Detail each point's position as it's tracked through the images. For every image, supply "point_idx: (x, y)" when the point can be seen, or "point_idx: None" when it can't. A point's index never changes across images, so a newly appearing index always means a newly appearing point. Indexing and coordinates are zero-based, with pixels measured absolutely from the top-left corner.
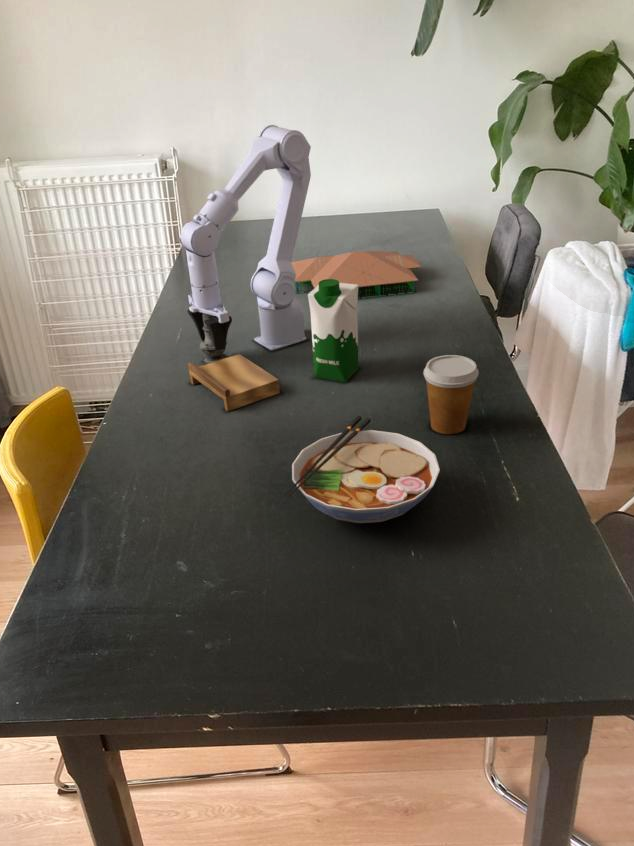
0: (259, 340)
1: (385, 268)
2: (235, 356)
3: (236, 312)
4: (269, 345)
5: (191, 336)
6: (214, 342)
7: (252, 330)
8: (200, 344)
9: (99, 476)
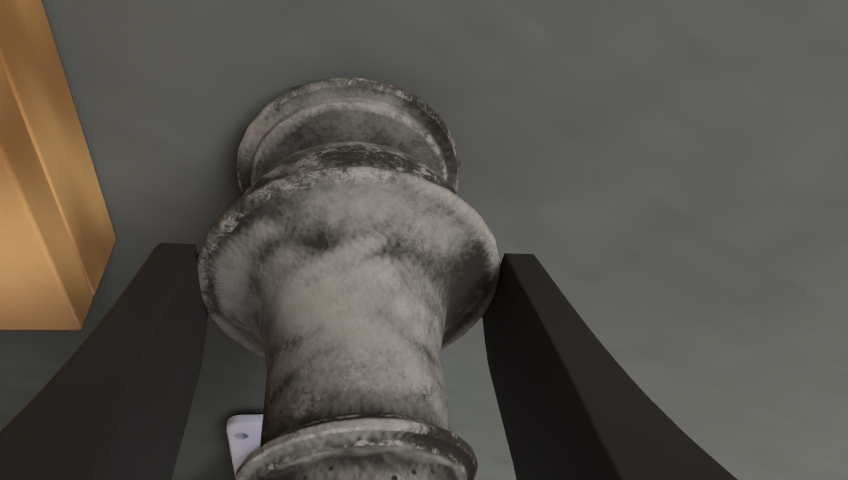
0: None
1: None
2: (25, 293)
3: (747, 451)
4: None
5: (843, 242)
6: (98, 325)
7: None
8: (447, 204)
9: None
